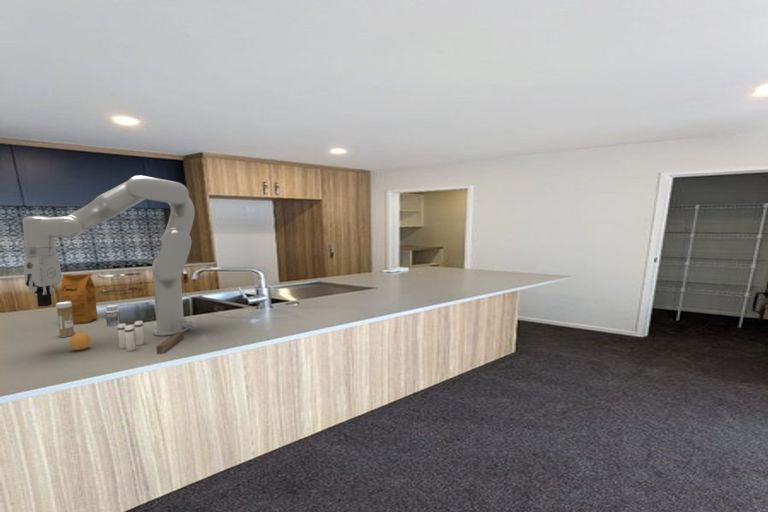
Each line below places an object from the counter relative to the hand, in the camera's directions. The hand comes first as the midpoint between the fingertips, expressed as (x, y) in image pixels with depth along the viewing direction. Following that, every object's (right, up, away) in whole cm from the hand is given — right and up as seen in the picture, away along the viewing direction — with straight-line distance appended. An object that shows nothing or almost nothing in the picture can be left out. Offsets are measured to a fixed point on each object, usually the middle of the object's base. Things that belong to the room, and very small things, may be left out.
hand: (45, 305), depth 124 cm
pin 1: (+28, -16, +2) cm, 32 cm away
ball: (+10, -13, +3) cm, 17 cm away
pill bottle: (-2, -13, +34) cm, 36 cm away
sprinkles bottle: (-9, -15, +19) cm, 26 cm away
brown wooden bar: (+40, -15, +6) cm, 43 cm away
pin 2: (+27, -15, +8) cm, 32 cm away
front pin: (+24, -16, +5) cm, 29 cm away
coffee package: (-21, -13, +39) cm, 46 cm away
